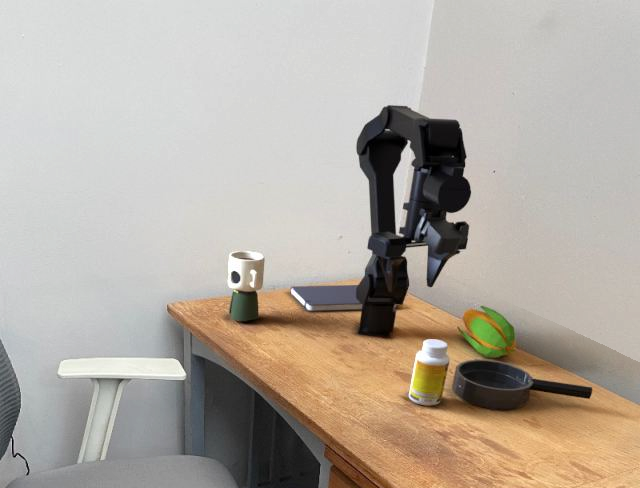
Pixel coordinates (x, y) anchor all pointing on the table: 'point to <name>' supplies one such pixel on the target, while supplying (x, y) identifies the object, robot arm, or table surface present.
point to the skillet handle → (562, 388)
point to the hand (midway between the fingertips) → (410, 289)
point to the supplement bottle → (429, 373)
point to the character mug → (245, 284)
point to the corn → (489, 332)
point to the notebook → (327, 297)
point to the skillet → (492, 384)
